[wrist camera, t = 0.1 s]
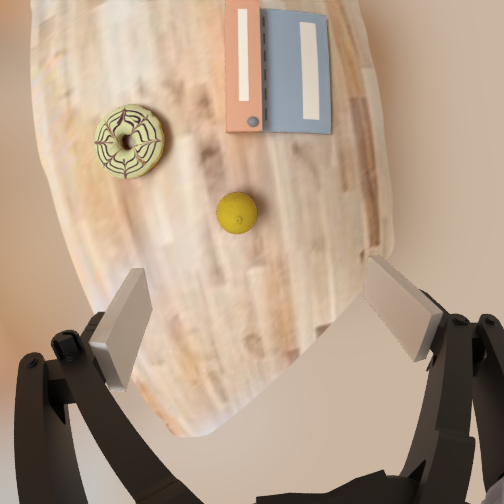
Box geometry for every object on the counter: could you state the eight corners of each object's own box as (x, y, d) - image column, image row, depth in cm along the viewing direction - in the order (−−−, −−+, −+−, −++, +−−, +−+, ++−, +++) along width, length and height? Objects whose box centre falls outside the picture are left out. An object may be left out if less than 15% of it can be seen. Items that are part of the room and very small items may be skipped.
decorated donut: (134, 93, 35) (126, 89, 31) (181, 140, 38) (177, 140, 35) (89, 144, 37) (78, 144, 33) (133, 190, 40) (125, 194, 37)
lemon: (255, 189, 42) (262, 199, 35) (252, 225, 44) (258, 243, 37) (217, 187, 41) (216, 197, 34) (216, 223, 43) (214, 241, 36)
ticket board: (258, 12, 31) (259, 8, 30) (322, 18, 32) (325, 15, 31) (261, 132, 39) (262, 131, 37) (327, 134, 40) (331, 133, 38)
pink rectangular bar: (225, 12, 31) (225, -3, 26) (255, 12, 31) (259, -3, 26) (226, 132, 38) (226, 131, 34) (257, 131, 39) (262, 130, 34)
